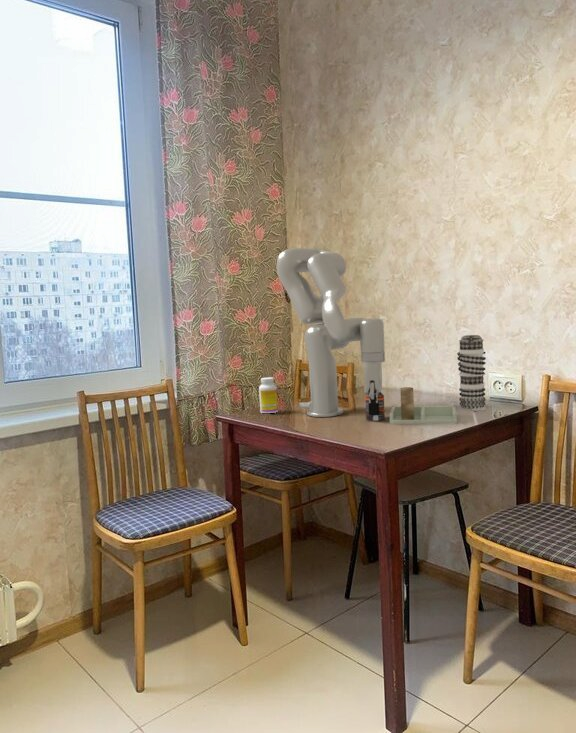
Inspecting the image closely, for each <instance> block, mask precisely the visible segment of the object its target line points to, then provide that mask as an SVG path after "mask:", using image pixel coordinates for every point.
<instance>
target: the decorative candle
mask: <svg viewBox="0 0 576 733" xmlns="http://www.w3.org/2000/svg"><path fill="white" fill-rule="evenodd" d="M458 342H459V350H458V352H457V353H456V354H457V357H456V358H457V360H458V361H459V362H458V363H457V365H458V368H457V369H458V371H459V373H458V375H459V376H460V383H459V388H458V390H459V396H460V397H459V401H460V402H459V406H460V407H462V408H464V409H470V411H471V412H480V410H481V411H485V410H486V408H487V407H486V405H487V404H486V397H485V395H486V392H485V391H486V387H485V382H484V376H485V375H486V372H484V371H486V367H484V366H485V365H486V363H487V362H485V360H486V359H487V358H486V357H484V355H486V351H485V350H484V349H485V348H484V343H483V342H484V338H482V337H481V336H480V335H478V334H465V335H463V336H461V338H460V339H459V340H458Z"/></svg>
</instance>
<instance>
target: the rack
mask: <svg viewBox="0 0 576 733" xmlns="http://www.w3.org/2000/svg"><path fill="white" fill-rule="evenodd" d="M456 408H457V406H456V405H422V406H421V405H420V406H419V405H417V406H416V405H414V420H401V405H398V406H396V405H395V406H391V409H390V411H389V425H405V424H406V425H417V424H418V425H419V424H420V425H427V424H428V425H434V424H435V425H443V424H444V425H451V424H452V425H457V422H458V421H457V419H458V418H457V409H456Z"/></svg>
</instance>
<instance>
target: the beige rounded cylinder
mask: <svg viewBox="0 0 576 733" xmlns="http://www.w3.org/2000/svg"><path fill="white" fill-rule="evenodd" d="M399 391H400V392H399V393H400V406H401V420H414V406H415V401H414V398H415V397H414V396H415V395H414V387H411V386H410V387H407V386H406V387H400V390H399Z"/></svg>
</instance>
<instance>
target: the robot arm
mask: <svg viewBox="0 0 576 733" xmlns="http://www.w3.org/2000/svg"><path fill="white" fill-rule="evenodd" d="M345 259H346V258H344V257H343V256H342V255H341V254H339V253H338V252H337V253H336V252H333V251H328V250H324V249H319V248H313V247H311V248H310V247H308V248H307V247H306V248H305V247H304V248H303V247H302V248H301V247H292V248H288V249H285V250H283V251H282V252H280V253H279V255H278V256H277V259H276V272H277V277H278V279H279V281H280V283H281V284H282V287H283V288H284V289H285V291H286V293H287V294H288V298H289V299H290V302H291V304H292V306H293V309H294V310H295V312H296V315H297V317H298V319H299V320H300V322H301V323H303V324H305V325H310V326H309V327H308V328H306V331H305V332H304V345H305V348H306V353H307V359H308V372H309V373H308V374H309V390H310V401H307V402H299V404H298V405H299V408H300V409H308V410H307V411H306V414H307V416H309V417H315V418H325V417H326V418H327V417H328V418H330V417H336V416H339V415H342V414H343V413H344V409H343V408H341V407H339V396H338V394H339V392H338V376H337V375H338V373H337V372H338V371H337V362H336V359H335V356H334V355H333V353H332V351H334V350H340V349H344V348H345V347H347V346H349V344H350V343H352V342H360V360H361V361H360V362H361V364H364V365H363V387H364V391H363V393H364V395H367V394H368V392H369V415H370V416H372V415H379V403H378V394H379V393H380V391H381V392H382V390H383V368H382V363H384V362H386V353H385V352H386V350H385V330H384V329H385V326H384V324H385V323H384V321H383V319H381V318H378V317H377V318H376V317H375V318H373V317H372V318H366V317H350V318H345V316H344V314H343V312H342V311H341V308H340V306H339V305H338V303H337V301H339V300H340V299H341V298H343V296H344V295H345V294H346V292H347V286H346V285H345V283H344V281H343V279H342V278H341V277H343V276H344V274H345V273H346V271H347V262H346V260H345ZM301 273H309V274H310V277H311V278H312V280H313V282H314V283H315V286H316V288H317V290H318V292H319V293H320V295H321V296H319V295H318V296H317V295H316V294H315V292H314V290H313V288H312V286H311V284H310V283H309V281H308V280H307V279H306V278H305V277H304V276H303V275H301ZM374 392H376V393H374ZM374 395H376V396H374Z"/></svg>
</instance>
